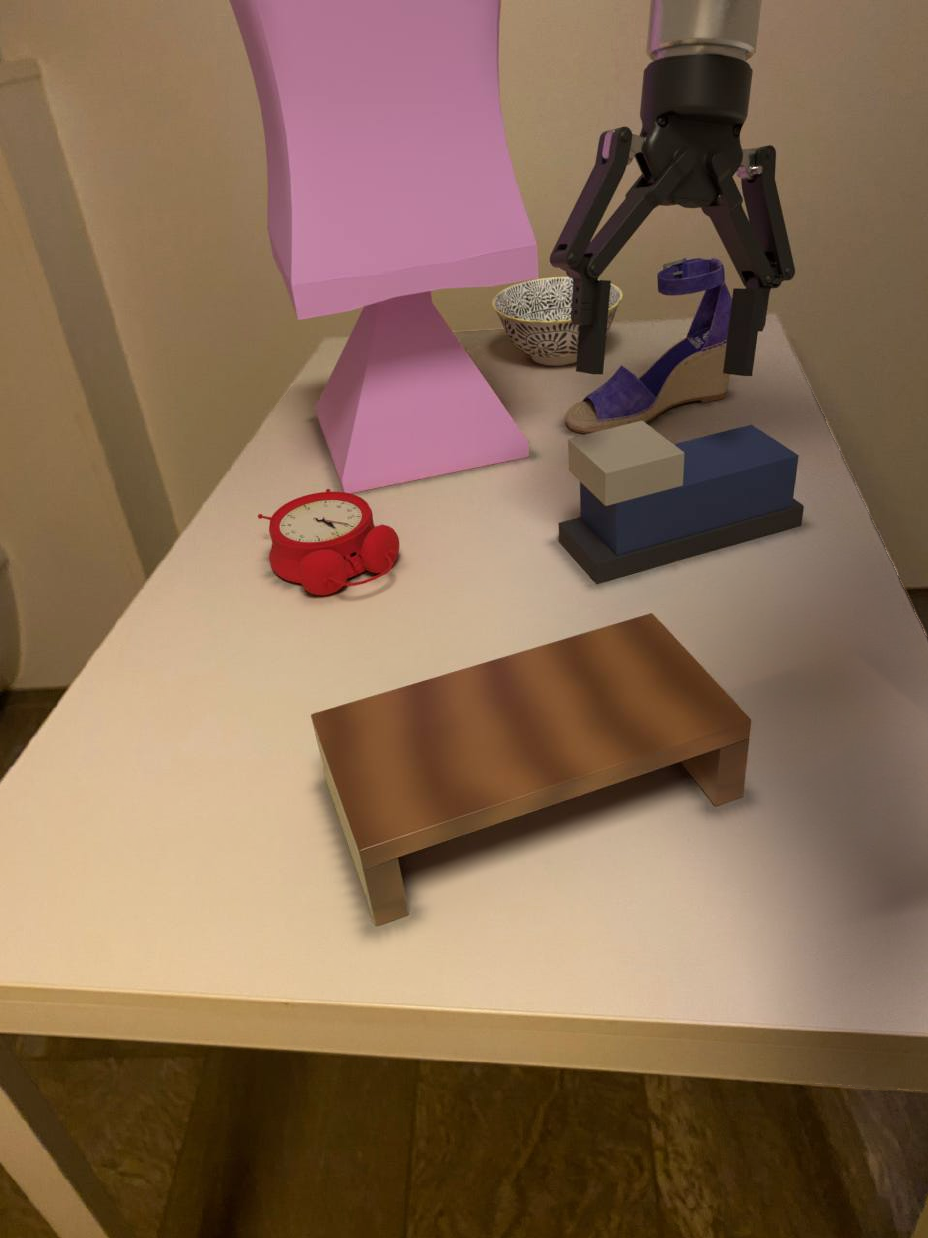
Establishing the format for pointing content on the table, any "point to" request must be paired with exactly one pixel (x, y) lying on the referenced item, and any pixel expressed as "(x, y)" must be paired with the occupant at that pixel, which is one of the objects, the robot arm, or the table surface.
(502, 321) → the bowl
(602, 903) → the table surface
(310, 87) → the pink table lamp
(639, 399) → the sandal
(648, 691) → the low wooden table
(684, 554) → the stacked block toy
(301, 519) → the alarm clock
